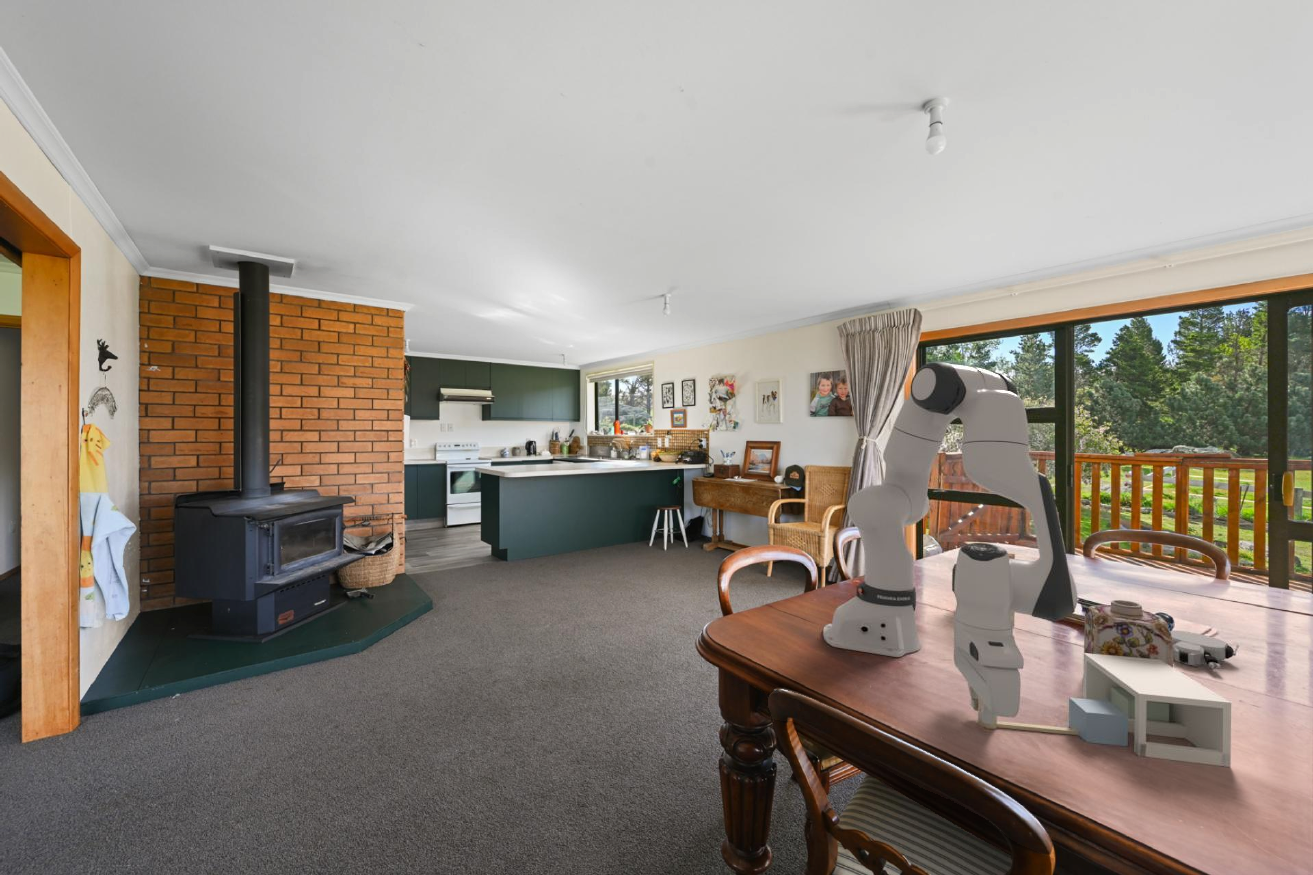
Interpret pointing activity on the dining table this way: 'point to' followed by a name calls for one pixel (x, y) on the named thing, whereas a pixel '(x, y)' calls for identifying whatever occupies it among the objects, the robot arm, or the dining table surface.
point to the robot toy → (1200, 649)
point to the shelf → (1189, 707)
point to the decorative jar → (1127, 632)
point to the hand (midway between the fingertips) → (982, 715)
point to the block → (1127, 706)
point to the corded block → (1081, 722)
